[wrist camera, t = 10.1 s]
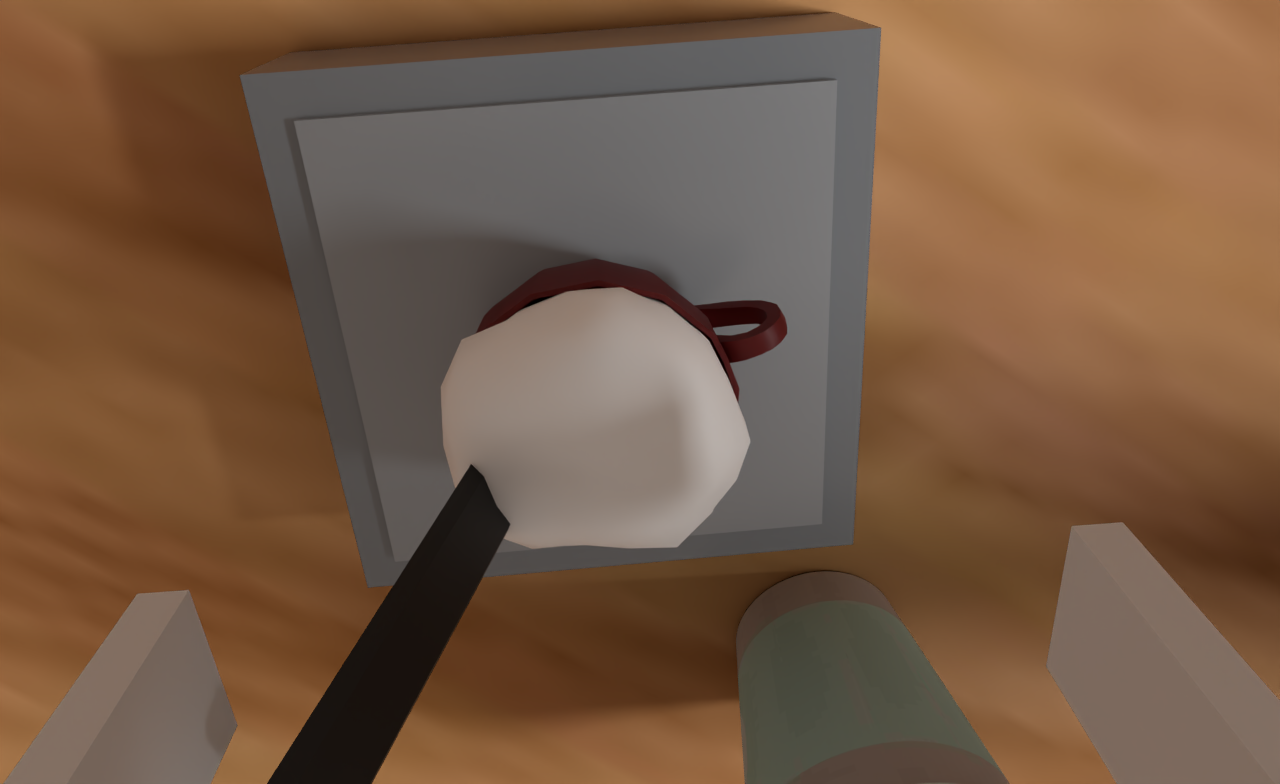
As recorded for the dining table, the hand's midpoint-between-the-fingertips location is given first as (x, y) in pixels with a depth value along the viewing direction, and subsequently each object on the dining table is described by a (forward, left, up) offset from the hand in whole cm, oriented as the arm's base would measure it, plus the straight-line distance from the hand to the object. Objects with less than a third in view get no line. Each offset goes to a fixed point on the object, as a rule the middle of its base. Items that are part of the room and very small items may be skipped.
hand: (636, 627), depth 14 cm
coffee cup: (-7, +14, -15) cm, 21 cm away
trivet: (+1, 0, -14) cm, 14 cm away
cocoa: (+1, 0, -10) cm, 10 cm away
